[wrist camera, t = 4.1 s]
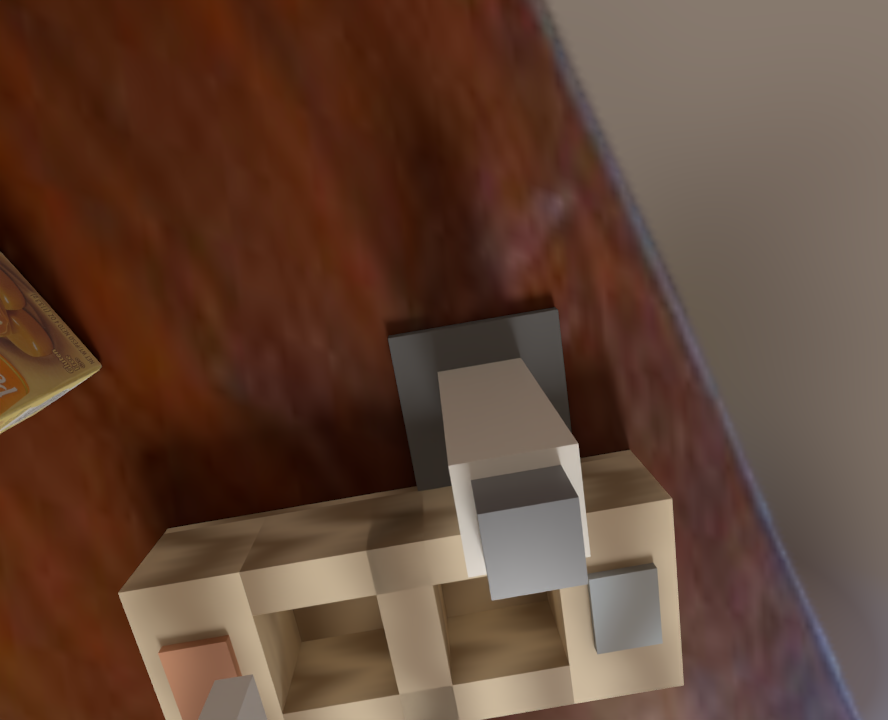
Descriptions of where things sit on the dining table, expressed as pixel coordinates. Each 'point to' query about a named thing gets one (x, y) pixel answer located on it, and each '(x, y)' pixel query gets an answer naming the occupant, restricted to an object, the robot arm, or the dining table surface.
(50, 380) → the candy box
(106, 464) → the dining table surface
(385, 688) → the socket block
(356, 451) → the dining table surface
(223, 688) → the robot arm
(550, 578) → the plug
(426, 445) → the mat
